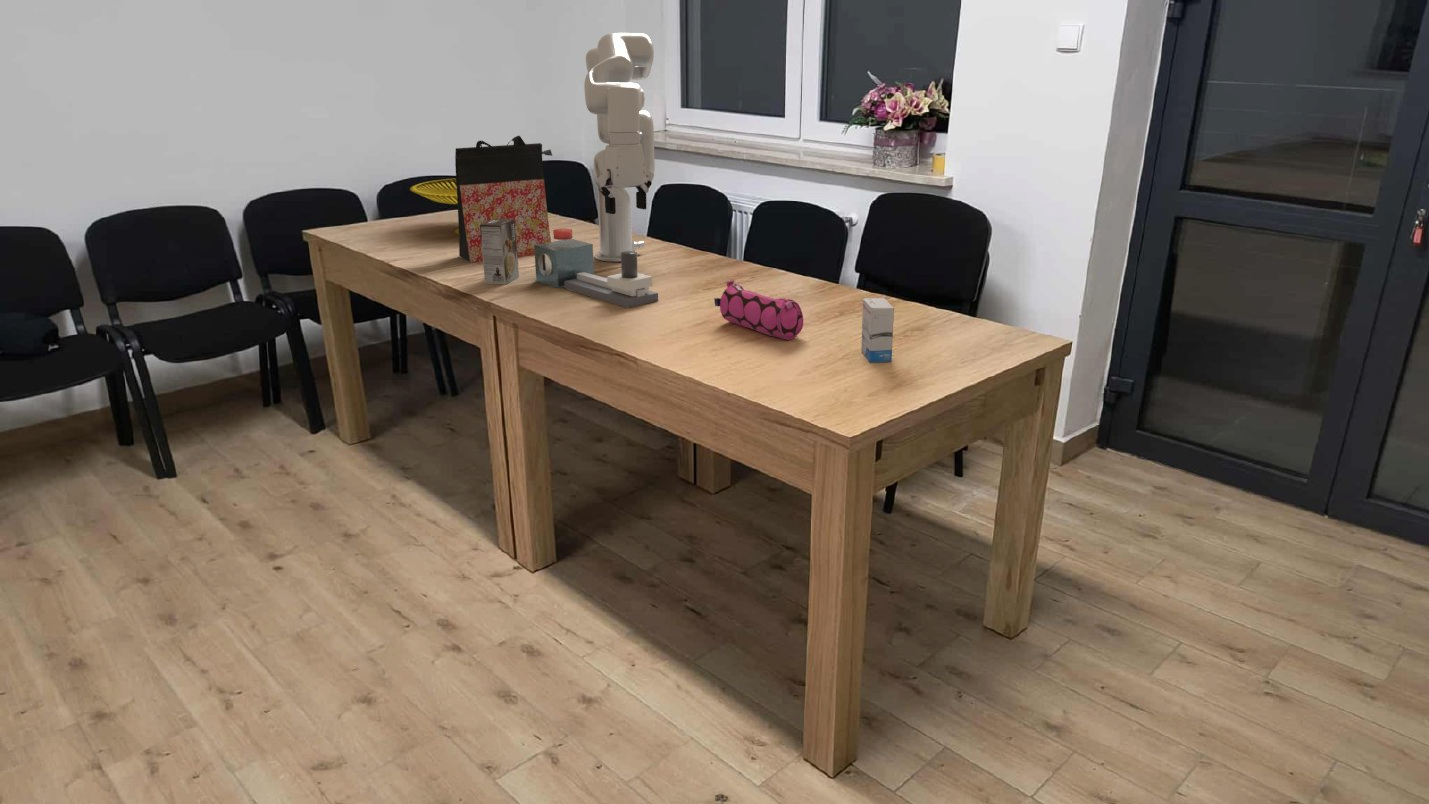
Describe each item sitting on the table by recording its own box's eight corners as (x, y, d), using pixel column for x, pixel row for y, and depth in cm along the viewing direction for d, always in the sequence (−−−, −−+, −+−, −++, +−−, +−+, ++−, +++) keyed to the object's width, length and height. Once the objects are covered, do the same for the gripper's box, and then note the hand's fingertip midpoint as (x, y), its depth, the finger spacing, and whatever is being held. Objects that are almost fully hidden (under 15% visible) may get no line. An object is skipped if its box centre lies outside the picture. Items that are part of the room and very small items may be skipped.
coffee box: (497, 275, 272) (493, 217, 266) (519, 276, 271) (515, 218, 265) (484, 283, 263) (479, 224, 258) (506, 285, 262) (502, 225, 256)
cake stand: (497, 215, 356) (494, 173, 350) (561, 232, 328) (558, 186, 323) (392, 229, 330) (387, 184, 325) (451, 249, 303) (447, 200, 297)
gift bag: (473, 264, 284) (462, 140, 271) (457, 255, 295) (446, 135, 282) (567, 253, 298) (561, 134, 286) (548, 244, 310) (542, 130, 297)
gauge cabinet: (572, 274, 274) (570, 238, 270) (594, 280, 267) (592, 244, 264) (533, 281, 265) (531, 245, 262) (555, 288, 259) (553, 251, 255)
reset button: (565, 235, 266) (564, 227, 265) (576, 237, 262) (575, 230, 262) (549, 237, 262) (549, 230, 262) (561, 240, 259) (560, 233, 258)
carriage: (632, 285, 253) (631, 247, 249) (652, 291, 247) (651, 253, 244) (607, 291, 248) (606, 252, 244) (628, 297, 242) (626, 257, 239)
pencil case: (712, 324, 229) (712, 283, 226) (742, 316, 235) (742, 276, 232) (779, 345, 215) (780, 301, 211) (808, 336, 221) (810, 293, 217)
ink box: (892, 362, 204) (896, 308, 200) (868, 363, 204) (871, 308, 199) (882, 349, 212) (885, 297, 208) (859, 350, 212) (862, 297, 207)
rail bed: (594, 282, 266) (594, 269, 264) (658, 300, 248) (657, 287, 247) (564, 288, 259) (563, 275, 258) (627, 307, 242) (627, 294, 240)
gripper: (641, 135, 242) (643, 205, 248) (585, 140, 231) (588, 213, 237) (661, 137, 237) (662, 208, 243) (605, 143, 226) (607, 217, 232)
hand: (626, 210), depth 240 cm, fingers open, 9 cm apart
